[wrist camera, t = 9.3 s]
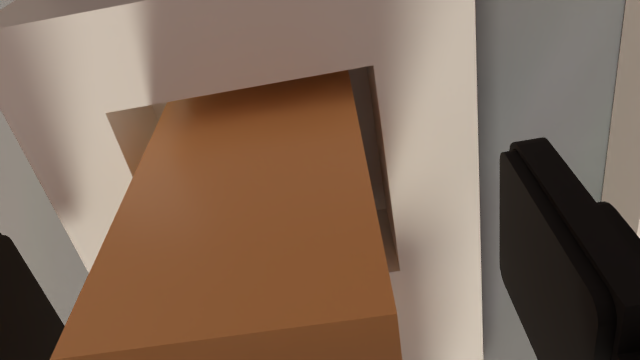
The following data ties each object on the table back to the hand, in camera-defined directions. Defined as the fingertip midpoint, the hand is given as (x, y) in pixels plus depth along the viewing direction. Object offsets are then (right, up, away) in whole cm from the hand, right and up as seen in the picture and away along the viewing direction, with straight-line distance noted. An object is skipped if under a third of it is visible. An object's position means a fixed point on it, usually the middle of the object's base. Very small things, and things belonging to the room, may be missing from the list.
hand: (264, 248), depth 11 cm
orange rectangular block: (0, +2, +3) cm, 4 cm away
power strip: (+1, -1, +7) cm, 7 cm away
